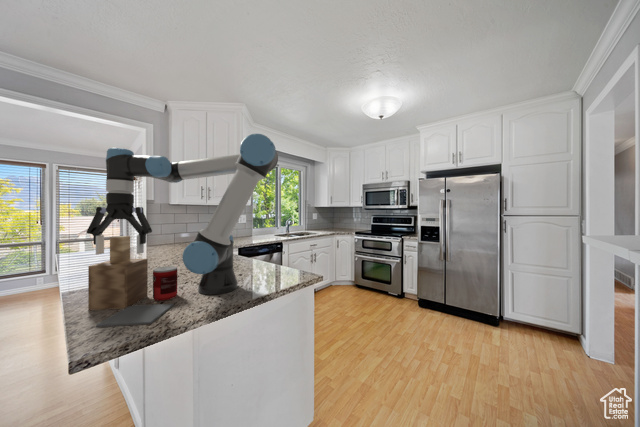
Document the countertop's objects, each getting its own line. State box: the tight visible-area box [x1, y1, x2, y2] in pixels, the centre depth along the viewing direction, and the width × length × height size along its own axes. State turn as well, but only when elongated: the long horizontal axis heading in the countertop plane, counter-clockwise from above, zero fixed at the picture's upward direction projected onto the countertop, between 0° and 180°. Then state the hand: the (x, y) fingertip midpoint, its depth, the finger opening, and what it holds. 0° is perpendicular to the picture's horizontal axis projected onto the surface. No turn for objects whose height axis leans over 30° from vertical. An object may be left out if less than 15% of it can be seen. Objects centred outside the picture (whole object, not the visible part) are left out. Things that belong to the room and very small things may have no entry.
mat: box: [95, 303, 175, 328], centre depth 75 cm, size 14×14×1 cm
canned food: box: [152, 265, 178, 302], centre depth 90 cm, size 8×8×11 cm
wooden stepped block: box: [87, 235, 149, 311], centre depth 85 cm, size 12×12×24 cm
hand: (120, 253), depth 85 cm, fingers open, 12 cm apart
